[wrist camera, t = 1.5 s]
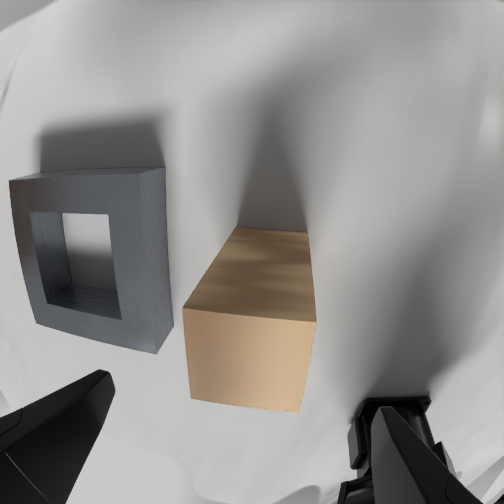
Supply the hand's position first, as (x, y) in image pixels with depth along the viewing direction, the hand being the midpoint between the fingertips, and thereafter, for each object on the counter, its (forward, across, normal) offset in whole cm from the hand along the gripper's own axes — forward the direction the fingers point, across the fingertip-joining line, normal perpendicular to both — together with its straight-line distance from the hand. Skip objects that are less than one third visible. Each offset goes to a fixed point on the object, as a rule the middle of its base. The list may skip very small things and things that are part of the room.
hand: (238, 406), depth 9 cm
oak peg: (+12, 0, 0) cm, 12 cm away
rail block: (+12, +12, 0) cm, 17 cm away
